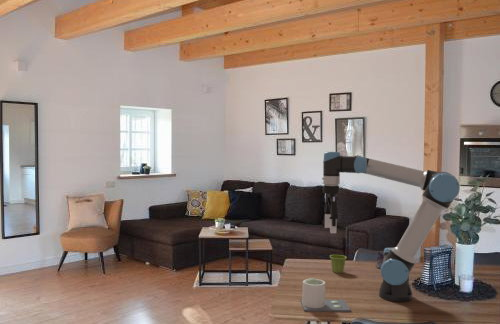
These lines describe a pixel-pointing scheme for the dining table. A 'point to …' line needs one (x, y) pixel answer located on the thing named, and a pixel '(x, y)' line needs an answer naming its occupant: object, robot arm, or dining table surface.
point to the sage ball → (312, 281)
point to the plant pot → (338, 263)
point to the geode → (379, 260)
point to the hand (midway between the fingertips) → (330, 230)
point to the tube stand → (320, 299)
